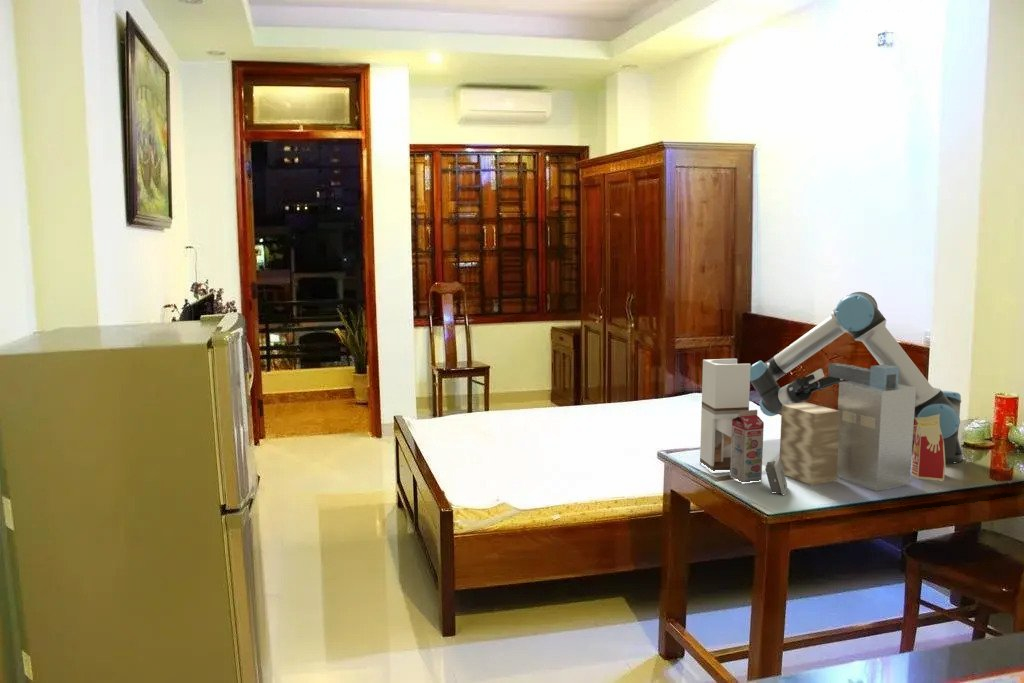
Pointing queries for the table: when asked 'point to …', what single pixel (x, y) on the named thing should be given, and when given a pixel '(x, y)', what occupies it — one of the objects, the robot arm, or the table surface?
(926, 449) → the milk carton
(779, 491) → the electrical switch
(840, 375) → the bar
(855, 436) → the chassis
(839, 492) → the table surface
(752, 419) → the juice carton
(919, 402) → the robot arm
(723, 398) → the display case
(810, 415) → the birch block
